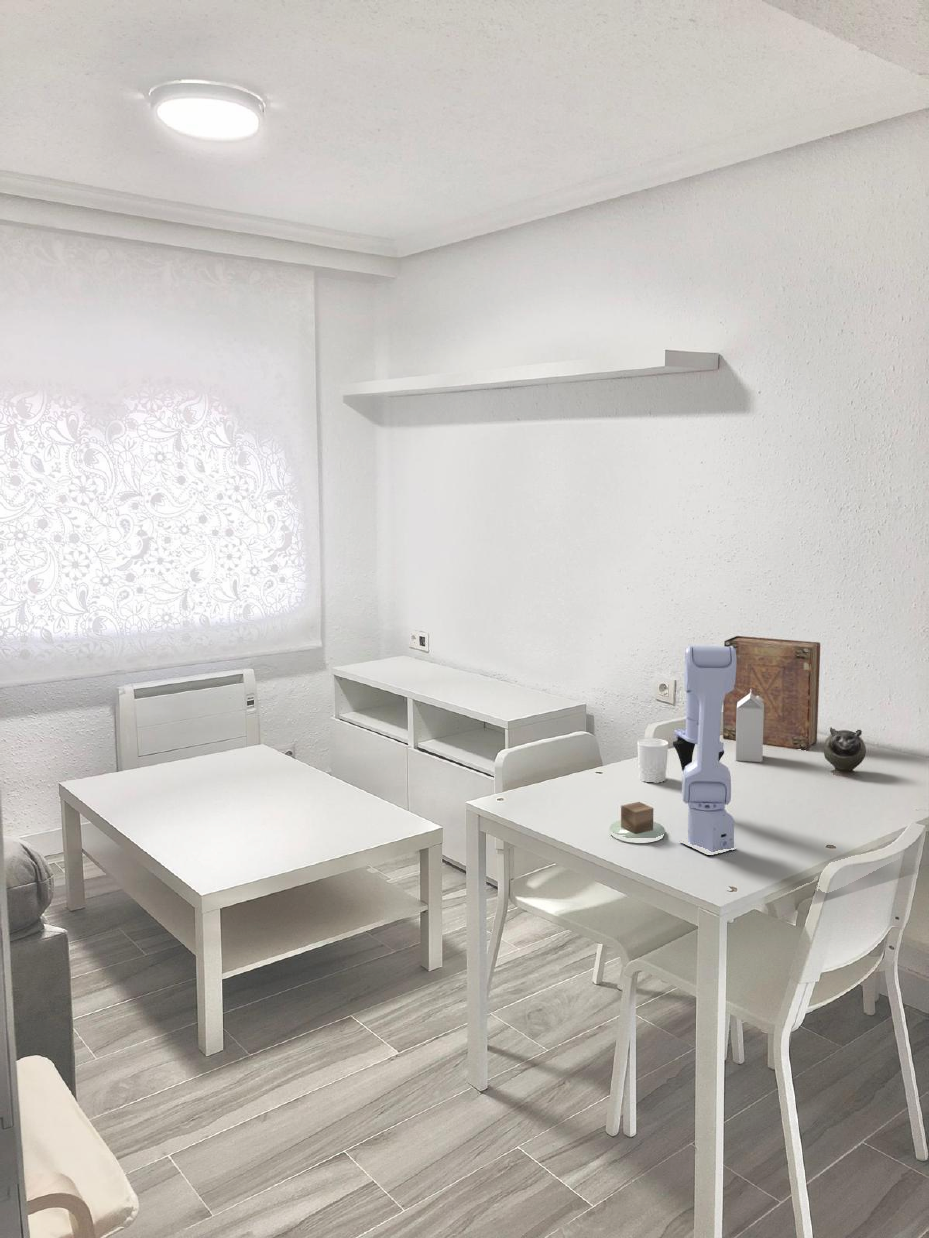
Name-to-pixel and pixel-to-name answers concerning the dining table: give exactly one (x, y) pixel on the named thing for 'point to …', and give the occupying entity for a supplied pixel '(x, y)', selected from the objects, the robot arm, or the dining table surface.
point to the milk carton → (749, 729)
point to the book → (777, 689)
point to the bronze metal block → (637, 817)
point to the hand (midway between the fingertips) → (697, 774)
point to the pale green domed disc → (654, 833)
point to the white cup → (652, 759)
